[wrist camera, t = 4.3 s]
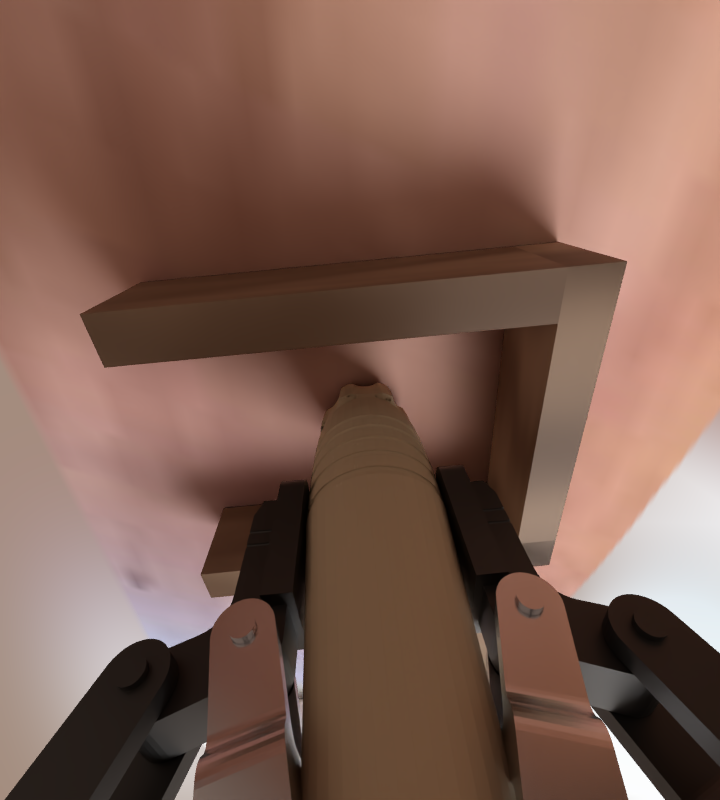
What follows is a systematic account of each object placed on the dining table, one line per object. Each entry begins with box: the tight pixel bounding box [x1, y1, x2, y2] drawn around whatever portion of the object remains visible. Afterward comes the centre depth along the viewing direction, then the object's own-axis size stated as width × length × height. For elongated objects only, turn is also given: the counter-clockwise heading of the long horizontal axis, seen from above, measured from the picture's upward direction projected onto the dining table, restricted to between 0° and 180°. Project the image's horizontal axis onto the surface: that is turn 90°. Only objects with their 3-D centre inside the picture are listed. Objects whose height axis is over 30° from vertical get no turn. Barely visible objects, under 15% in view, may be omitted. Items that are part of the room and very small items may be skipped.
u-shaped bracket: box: [80, 242, 627, 598], centre depth 14 cm, size 12×14×4 cm
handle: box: [301, 383, 516, 800], centre depth 9 cm, size 5×6×15 cm
